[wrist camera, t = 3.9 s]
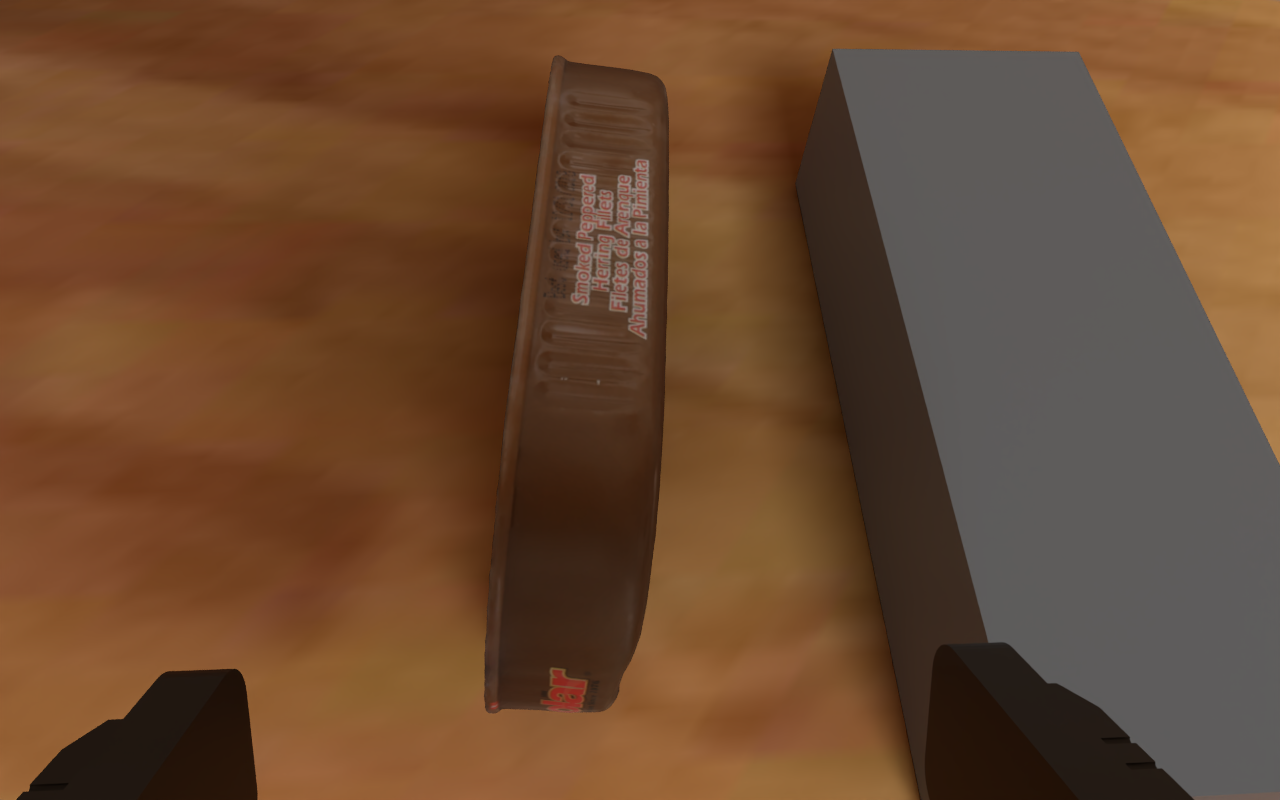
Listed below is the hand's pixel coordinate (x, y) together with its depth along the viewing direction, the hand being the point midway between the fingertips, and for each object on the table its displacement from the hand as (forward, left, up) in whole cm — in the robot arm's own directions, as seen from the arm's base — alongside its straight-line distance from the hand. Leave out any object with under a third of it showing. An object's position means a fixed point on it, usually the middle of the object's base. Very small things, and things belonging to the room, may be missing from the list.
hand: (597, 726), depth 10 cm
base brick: (+10, +9, -9) cm, 17 cm away
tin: (0, +9, -10) cm, 13 cm away
